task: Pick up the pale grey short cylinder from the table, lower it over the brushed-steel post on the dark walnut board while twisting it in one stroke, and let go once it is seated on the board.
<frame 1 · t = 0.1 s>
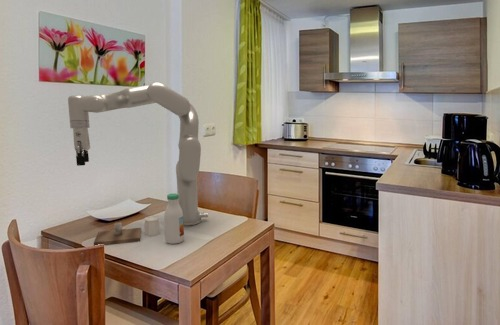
hand: (83, 163, 154), 31 cm above the table, tool pointing down, fingers open, 9 cm apart
pale grey short cylinder: (152, 233, 156), on the table
post base: (118, 238, 151), on the table
milk bottle: (174, 241, 147), on the table
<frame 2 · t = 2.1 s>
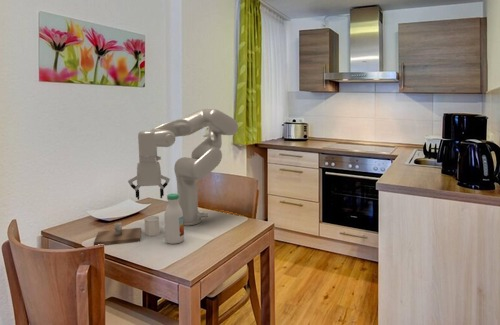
hand: (149, 198, 153), 16 cm above the table, tool pointing down, fingers open, 9 cm apart
nothing on the table moved.
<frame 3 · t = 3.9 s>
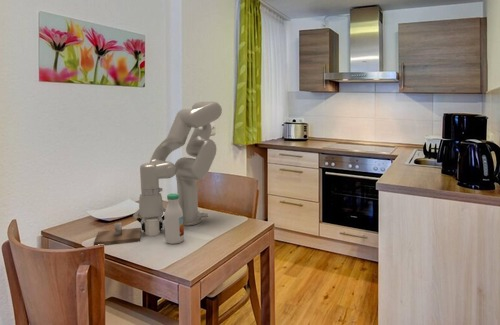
hand: (152, 230, 156), 1 cm above the table, tool pointing down, fingers closed on pale grey short cylinder, 6 cm apart
pale grey short cylinder: (152, 233, 156), on the table, touching gripper
everything else where it was.
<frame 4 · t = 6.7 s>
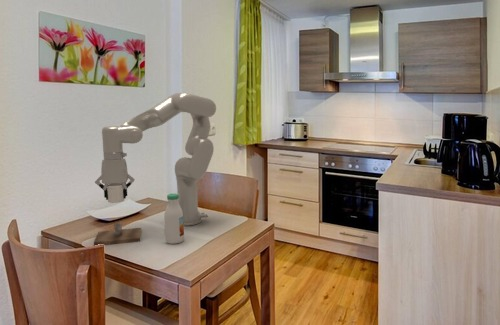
hand: (116, 198, 148), 18 cm above the table, tool pointing down, fingers closed on pale grey short cylinder, 6 cm apart
pale grey short cylinder: (116, 200, 148), point 17 cm above the table, touching gripper
everything else where it was.
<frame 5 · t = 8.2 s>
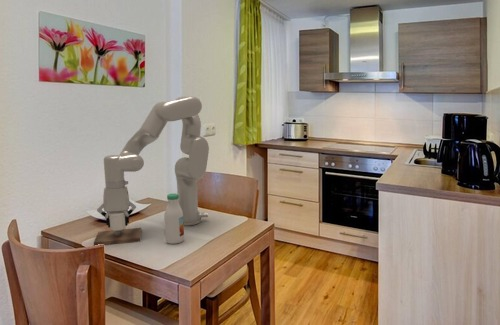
hand: (118, 225, 150), 6 cm above the table, tool pointing down, fingers closed on pale grey short cylinder, 6 cm apart
pale grey short cylinder: (118, 228, 150), point 5 cm above the table, touching gripper
everything else where it was.
when the fingers open (4 cm above the table, at t = 9.5 s): pale grey short cylinder stays where it is, resting on post base.
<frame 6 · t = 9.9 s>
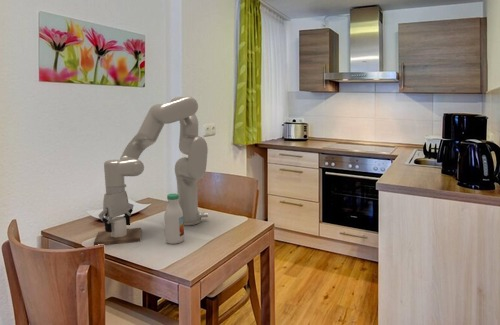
hand: (118, 228, 150), 4 cm above the table, tool pointing down, fingers open, 9 cm apart
pale grey short cylinder: (119, 234, 150), point 1 cm above the table, touching post base
everything else where it was.
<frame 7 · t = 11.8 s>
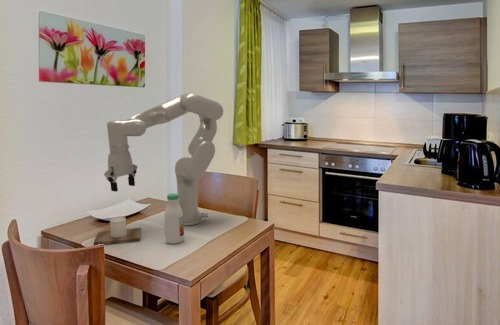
hand: (123, 188, 152), 21 cm above the table, tool pointing down, fingers open, 9 cm apart
nothing on the table moved.
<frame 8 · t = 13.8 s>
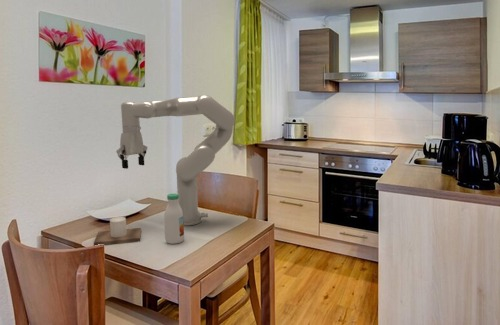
hand: (133, 166, 162), 28 cm above the table, tool pointing down, fingers open, 9 cm apart
nothing on the table moved.
at the end: pale grey short cylinder 0.1 cm off-centre on the post base, point 1.5 cm above the post base's base; pale grey short cylinder tilted 0°; the gripper is holding nothing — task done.
